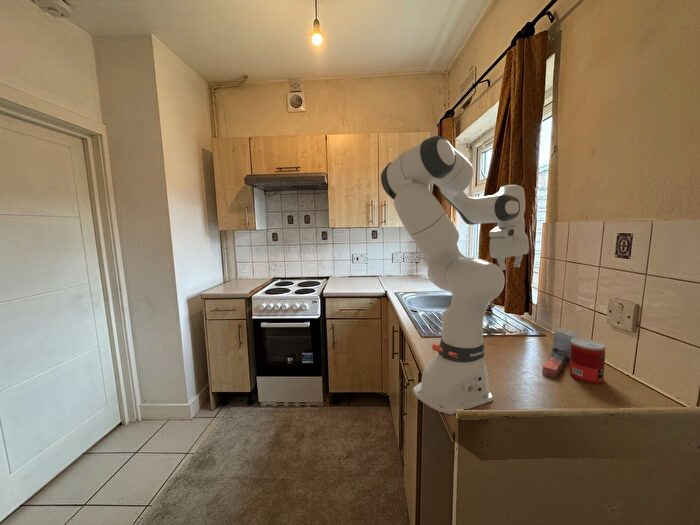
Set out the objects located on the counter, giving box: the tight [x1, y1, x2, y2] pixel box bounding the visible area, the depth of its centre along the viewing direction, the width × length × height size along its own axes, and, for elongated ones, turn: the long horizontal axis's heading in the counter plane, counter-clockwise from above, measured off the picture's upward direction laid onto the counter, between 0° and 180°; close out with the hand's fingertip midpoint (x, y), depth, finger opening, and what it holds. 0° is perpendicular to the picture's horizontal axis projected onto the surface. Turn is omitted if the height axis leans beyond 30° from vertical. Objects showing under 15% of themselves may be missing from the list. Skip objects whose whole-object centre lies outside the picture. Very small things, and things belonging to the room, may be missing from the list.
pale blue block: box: [552, 327, 579, 354], centre depth 99 cm, size 5×5×6 cm
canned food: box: [569, 337, 606, 385], centre depth 86 cm, size 8×8×11 cm
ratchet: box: [542, 346, 570, 379], centre depth 95 cm, size 22×7×6 cm, turn 132°
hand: (510, 268), depth 105 cm, fingers open, 8 cm apart
